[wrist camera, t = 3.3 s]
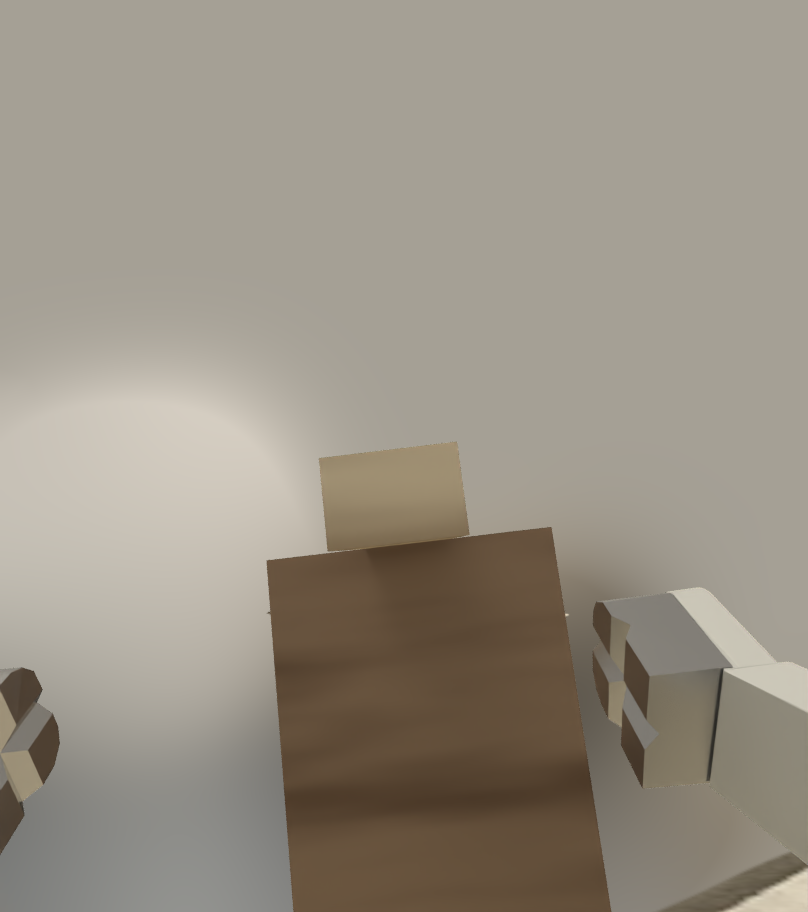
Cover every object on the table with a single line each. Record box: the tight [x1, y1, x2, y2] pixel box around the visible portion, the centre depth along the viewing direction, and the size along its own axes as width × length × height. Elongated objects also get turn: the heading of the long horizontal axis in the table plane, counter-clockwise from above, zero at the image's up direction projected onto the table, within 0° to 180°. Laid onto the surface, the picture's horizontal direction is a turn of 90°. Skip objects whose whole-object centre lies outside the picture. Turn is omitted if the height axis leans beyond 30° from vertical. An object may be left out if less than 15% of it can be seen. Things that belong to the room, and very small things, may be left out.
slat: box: [319, 442, 469, 551], centre depth 22 cm, size 19×3×2 cm, turn 178°
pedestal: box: [267, 527, 611, 912], centre depth 22 cm, size 8×10×27 cm
